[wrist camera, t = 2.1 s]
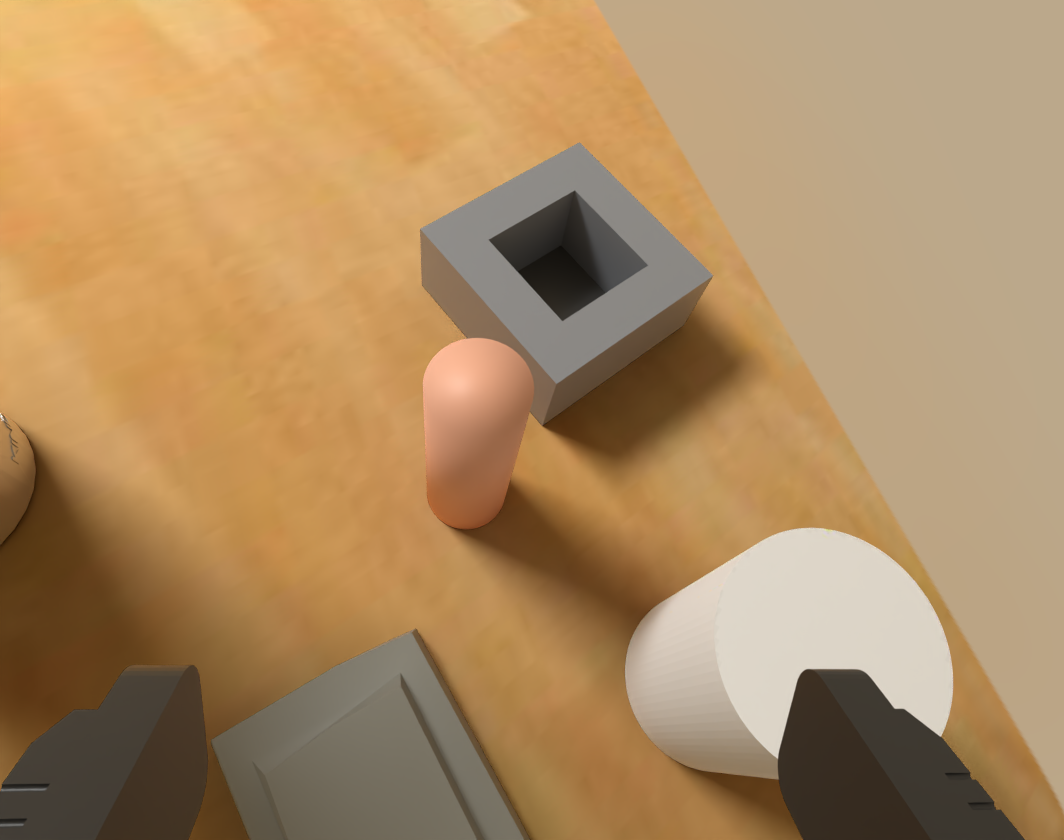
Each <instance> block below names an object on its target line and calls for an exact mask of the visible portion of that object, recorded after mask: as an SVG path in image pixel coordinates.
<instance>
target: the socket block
mask: <svg viewBox="0 0 1064 840" xmlns="http://www.w3.org/2000/svg"><path fill="white" fill-rule="evenodd" d="M420 237H421V271H422V286H423V287H424V288H425V289H426V290H427V292H428V293H429V294H430V295H431V296H432V297H433V299H434V300H435V301H436V302H437V303H438V304H439V306H440V307H441V308H442V309H443V310H444V311H445V313H446V314H447V315H448V316H449V317H450V318H451V320H452V321H453V322H454V323H455V324H456V325H457V327H458V328H459V329H460V330H461V331H462V333H463V334H464V335H465V336H466V337H467V338H468V339H469V338H485V339H491V340H495V341H498V342H500V343H503V344H505V345H507V346H508V347H510V348H512V349H513V350H514V351H515V352H517V353H518V354H519V355H520V356H521V357H522V358H523V360H524V361H525V362H526V364H527V365H528V367H529V369H530V371H531V374H532V377H533V381H534V397H533V402H532V405H531V409H530V412H531V413H532V414H533V416H534V417H535V418H536V419H537V420H538V421H539V423H540V424H541V425H542V426H543V425H544V424H545V423H547V422H548V421H550V420H551V419H552V418H554V417H555V416H557V415H558V414H560V413H561V412H562V411H564V410H565V409H567V408H568V407H569V406H571V405H572V404H574V403H575V402H576V401H578V400H579V399H581V398H582V397H583V396H585V395H586V394H588V393H589V392H590V391H592V390H593V389H595V388H596V387H598V386H599V385H600V384H602V383H603V382H605V381H606V380H607V379H609V378H610V377H612V376H613V375H614V374H616V373H617V372H619V371H620V370H621V369H623V368H624V367H626V366H627V365H628V364H630V363H631V362H633V361H634V360H636V359H637V358H638V357H640V356H641V355H643V354H644V353H645V352H647V351H648V350H650V349H651V348H652V347H654V346H655V345H657V344H658V343H659V342H661V341H662V340H664V339H665V338H667V337H668V336H669V335H671V334H672V333H674V332H675V331H676V330H678V329H679V328H681V327H682V326H683V325H684V324H685V322H686V321H687V319H688V317H689V316H690V314H691V312H692V311H693V309H694V307H695V306H696V304H697V302H698V300H699V299H700V297H701V295H702V294H703V292H704V290H705V289H706V287H707V285H708V284H709V282H710V280H711V279H712V277H713V275H712V274H711V273H710V272H709V271H708V270H707V269H706V268H705V267H704V266H703V265H702V264H701V263H700V262H699V261H698V260H697V259H696V258H695V257H694V256H693V255H692V254H691V253H690V252H689V251H688V250H687V249H686V248H685V247H684V246H683V245H682V244H681V243H680V242H679V241H678V240H677V239H676V238H675V237H674V236H673V235H672V234H671V233H670V232H669V231H668V230H667V229H666V228H665V227H664V226H663V225H662V224H661V223H660V222H659V221H658V220H657V219H656V218H655V217H654V216H653V215H652V214H651V213H650V212H649V211H648V210H647V209H646V208H645V207H644V206H643V205H642V204H641V203H640V202H639V201H638V200H637V199H636V198H635V197H634V196H633V195H632V194H631V193H630V192H629V191H628V190H627V189H626V188H625V187H624V186H623V185H622V184H621V183H620V182H619V181H618V180H617V179H616V178H615V177H614V176H613V175H612V174H611V173H610V172H609V171H608V170H607V169H606V168H605V167H604V166H603V165H602V164H601V163H600V162H599V161H598V160H597V159H596V158H595V157H594V156H593V155H592V154H591V153H590V152H589V151H588V150H587V149H586V148H585V147H584V146H583V145H582V144H581V143H580V142H579V143H577V144H576V145H574V146H572V147H570V148H568V149H566V150H565V151H563V152H561V153H559V154H557V155H555V156H554V157H552V158H550V159H548V160H546V161H544V162H543V163H541V164H539V165H537V166H535V167H533V168H531V169H530V170H528V171H526V172H524V173H522V174H520V175H519V176H517V177H515V178H513V179H511V180H509V181H508V182H506V183H504V184H502V185H500V186H498V187H497V188H495V189H493V190H491V191H489V192H487V193H485V194H484V195H482V196H480V197H478V198H476V199H474V200H473V201H471V202H469V203H467V204H465V205H463V206H462V207H460V208H458V209H456V210H454V211H452V212H451V213H449V214H447V215H445V216H443V217H441V218H440V219H438V220H436V221H434V222H432V223H430V224H428V225H427V226H425V227H423V228H421V229H420Z"/></svg>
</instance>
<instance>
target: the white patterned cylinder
mask: <svg viewBox="0 0 1064 840" xmlns="http://www.w3.org/2000/svg"><path fill="white" fill-rule="evenodd" d="M806 669H859V670H862V671H864V672H865V673H867V674H868V675H869V676H870V677H871V679H872V680H873V681H874V682H875V684H876V685H877V686H878V688H879V689H880V690H881V692H882V693H883V694H884V695H885V697H886V698H887V699H888V701H889V702H890V703H891V704H892V706H893V707H894V708H895V709H905V710H906V711H908V712H909V713H910V714H912V715H913V716H914V717H915V718H917V719H918V720H919V721H921V722H922V723H923V724H925V725H926V726H927V727H929V728H930V729H931V730H932V731H934V732H935V733H936V734H938V735H939V736H940V737H941V735H942V733H943V731H944V728H945V726H946V723H947V720H948V717H949V713H950V709H951V703H952V694H953V671H952V663H951V657H950V652H949V647H948V644H947V640H946V637H945V634H944V631H943V628H942V626H941V624H940V621H939V619H938V617H937V615H936V613H935V611H934V609H933V607H932V605H931V604H930V602H929V600H928V599H927V597H926V596H925V594H924V593H923V591H922V590H921V589H920V587H919V586H918V585H917V583H916V582H915V581H914V580H913V579H912V578H911V576H910V575H909V574H908V573H907V572H906V571H905V570H904V569H903V568H902V567H901V566H900V565H899V564H897V563H896V562H895V561H894V560H893V559H891V558H890V557H889V556H888V555H886V554H885V553H883V552H882V551H881V550H879V549H877V548H876V547H874V546H873V545H871V544H869V543H867V542H865V541H863V540H861V539H859V538H857V537H854V536H851V535H849V534H845V533H842V532H839V531H834V530H829V529H822V528H800V529H793V530H788V531H784V532H781V533H778V534H775V535H773V536H770V537H768V538H766V539H764V540H763V541H761V542H759V543H758V544H756V545H754V546H753V547H751V548H750V549H748V550H746V551H745V552H743V553H741V554H740V555H738V556H736V557H735V558H733V559H731V560H730V561H728V562H727V563H725V564H723V565H722V566H720V567H718V568H717V569H715V570H713V571H712V572H710V573H709V574H707V575H705V576H704V577H702V578H700V579H699V580H697V581H695V582H694V583H692V584H691V585H689V586H687V587H686V588H684V589H682V590H681V591H679V592H677V593H676V594H674V595H672V596H671V597H669V598H668V599H666V600H664V601H663V602H661V603H659V604H658V605H657V606H655V607H654V608H653V609H652V610H650V611H649V612H648V613H647V614H646V615H645V617H644V618H643V619H642V620H641V622H640V623H639V625H638V626H637V628H636V630H635V631H634V634H633V636H632V638H631V641H630V643H629V647H628V651H627V656H626V663H625V681H626V688H627V694H628V698H629V701H630V704H631V707H632V710H633V712H634V715H635V717H636V719H637V721H638V722H639V724H640V726H641V728H642V729H643V731H644V732H645V733H646V735H647V736H648V737H649V739H650V740H651V741H652V742H653V743H654V744H655V745H656V746H657V747H658V748H659V749H660V750H661V751H663V752H664V753H665V754H666V755H668V756H669V757H671V758H672V759H674V760H676V761H677V762H679V763H681V764H683V765H685V766H688V767H691V768H694V769H697V770H702V771H708V772H717V773H726V774H734V775H743V776H752V777H761V778H769V779H778V780H779V777H778V754H779V749H780V745H781V741H782V737H783V734H784V730H785V726H786V722H787V718H788V714H789V711H790V707H791V703H792V699H793V695H794V691H795V687H796V684H797V680H798V678H799V676H800V674H801V673H802V672H803V671H804V670H806Z"/></svg>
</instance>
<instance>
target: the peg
mask: <svg viewBox="0 0 1064 840" xmlns="http://www.w3.org/2000/svg"><path fill="white" fill-rule="evenodd" d="M533 397H534V381H533V377H532V374H531V371H530V369H529V367H528V365H527V364H526V362H525V361H524V360H523V358H522V357H521V356H520V355H519V354H518V353H517V352H515V351H514V350H513V349H512V348H510V347H508V346H507V345H505V344H503V343H500V342H498V341H495V340H491V339H485V338H469V339H463V340H459V341H456V342H454V343H451V344H450V345H448V346H446V347H444V348H443V349H442V350H440V351H439V352H438V353H437V354H436V355H435V356H434V357H433V359H432V360H431V361H430V363H429V365H428V367H427V369H426V371H425V375H424V380H423V398H424V425H425V452H426V479H427V498H428V502H429V505H430V507H431V509H432V511H433V513H434V514H435V515H436V516H437V518H439V519H440V520H441V521H442V522H444V523H445V524H447V525H449V526H451V527H454V528H458V529H475V528H479V527H482V526H484V525H486V524H487V523H489V522H490V521H492V520H493V519H494V518H495V517H496V516H497V515H498V513H499V512H500V510H501V508H502V506H503V503H504V500H505V497H506V493H507V490H508V486H509V483H510V479H511V475H512V472H513V468H514V465H515V461H516V458H517V454H518V451H519V447H520V444H521V440H522V437H523V433H524V430H525V426H526V423H527V419H528V416H529V412H530V409H531V405H532V402H533Z"/></svg>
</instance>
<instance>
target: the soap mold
mask: <svg viewBox="0 0 1064 840" xmlns="http://www.w3.org/2000/svg"><path fill="white" fill-rule="evenodd" d="M211 745H212V747H213V750H214V752H215V755H216V757H217V760H218V762H219V765H220V767H221V770H222V772H223V775H224V777H225V780H226V782H227V785H228V787H229V790H230V792H231V795H232V797H233V800H234V802H235V805H236V807H237V810H238V812H239V814H240V817H241V819H242V822H243V824H244V827H245V829H246V832H247V834H248V837H249V839H250V840H530V838H529V836H528V834H527V833H526V831H525V829H524V827H523V825H522V823H521V821H520V820H519V818H518V816H517V814H516V812H515V810H514V808H513V806H512V805H511V803H510V801H509V799H508V797H507V795H506V793H505V792H504V790H503V788H502V786H501V784H500V782H499V780H498V778H497V777H496V775H495V773H494V771H493V769H492V767H491V765H490V764H489V762H488V760H487V758H486V756H485V754H484V752H483V751H482V749H481V747H480V745H479V743H478V741H477V740H476V738H475V736H474V734H473V732H472V730H471V729H470V727H469V725H468V723H467V721H466V719H465V718H464V716H463V714H462V712H461V710H460V708H459V707H458V705H457V703H456V701H455V699H454V697H453V696H452V694H451V692H450V690H449V688H448V686H447V685H446V683H445V681H444V679H443V677H442V675H441V674H440V672H439V670H438V668H437V666H436V664H435V663H434V661H433V659H432V657H431V655H430V653H429V651H428V650H427V648H426V646H425V644H424V642H423V640H422V639H421V637H420V635H419V633H418V631H417V629H414V630H411V631H409V632H407V633H405V634H402V635H400V636H398V637H396V638H393V639H391V640H389V641H387V642H385V643H383V644H381V645H379V646H377V647H375V648H373V649H370V650H368V651H366V652H364V653H362V654H360V655H358V656H356V657H354V658H352V659H350V660H347V661H345V662H343V663H341V664H339V665H337V666H335V667H333V668H332V669H330V670H328V671H327V672H325V673H323V674H322V675H320V676H318V677H316V678H315V679H313V680H311V681H310V682H308V683H306V684H305V685H303V686H301V687H300V688H298V689H296V690H295V691H293V692H291V693H289V694H288V695H286V696H284V697H283V698H281V699H279V700H278V701H276V702H274V703H273V704H271V705H269V706H267V707H266V708H264V709H262V710H261V711H259V712H257V713H256V714H254V715H252V716H251V717H249V718H247V719H245V720H244V721H242V722H240V723H239V724H237V725H235V726H234V727H232V728H230V729H229V730H227V731H225V732H224V733H222V734H220V735H218V736H217V737H215V738H213V739H212V740H211Z"/></svg>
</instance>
